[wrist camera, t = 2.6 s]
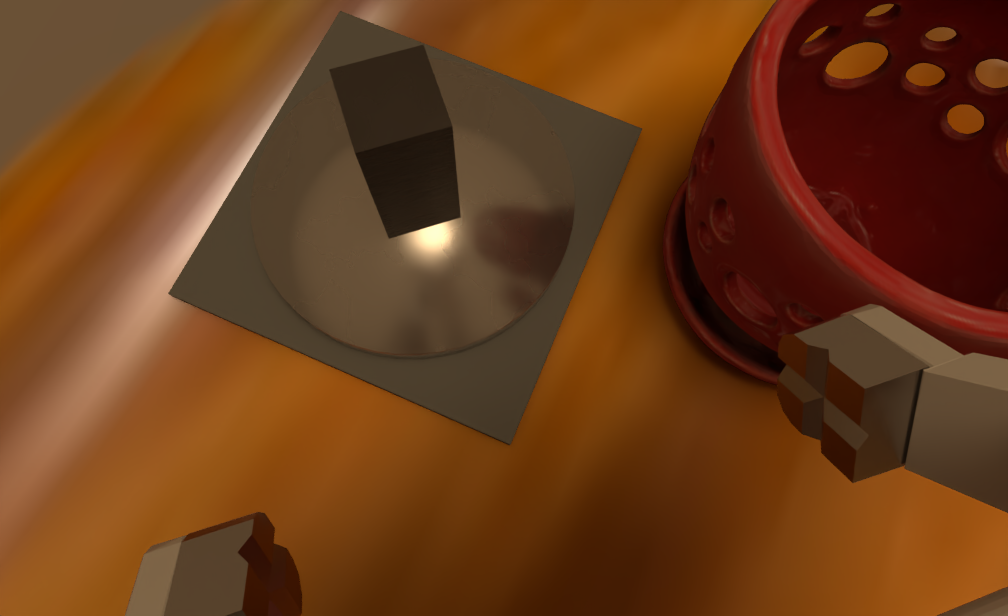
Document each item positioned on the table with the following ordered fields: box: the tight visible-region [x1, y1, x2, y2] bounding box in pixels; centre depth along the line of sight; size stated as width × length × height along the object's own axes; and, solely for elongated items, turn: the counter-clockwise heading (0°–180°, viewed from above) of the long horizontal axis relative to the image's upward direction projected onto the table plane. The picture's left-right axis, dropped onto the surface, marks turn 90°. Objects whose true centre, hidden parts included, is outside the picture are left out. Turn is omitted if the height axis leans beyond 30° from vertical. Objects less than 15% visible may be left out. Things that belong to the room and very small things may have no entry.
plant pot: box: [663, 0, 1008, 385], centre depth 23 cm, size 13×13×12 cm
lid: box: [251, 45, 575, 359], centre depth 24 cm, size 14×14×8 cm
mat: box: [168, 11, 642, 445], centre depth 28 cm, size 16×16×1 cm
